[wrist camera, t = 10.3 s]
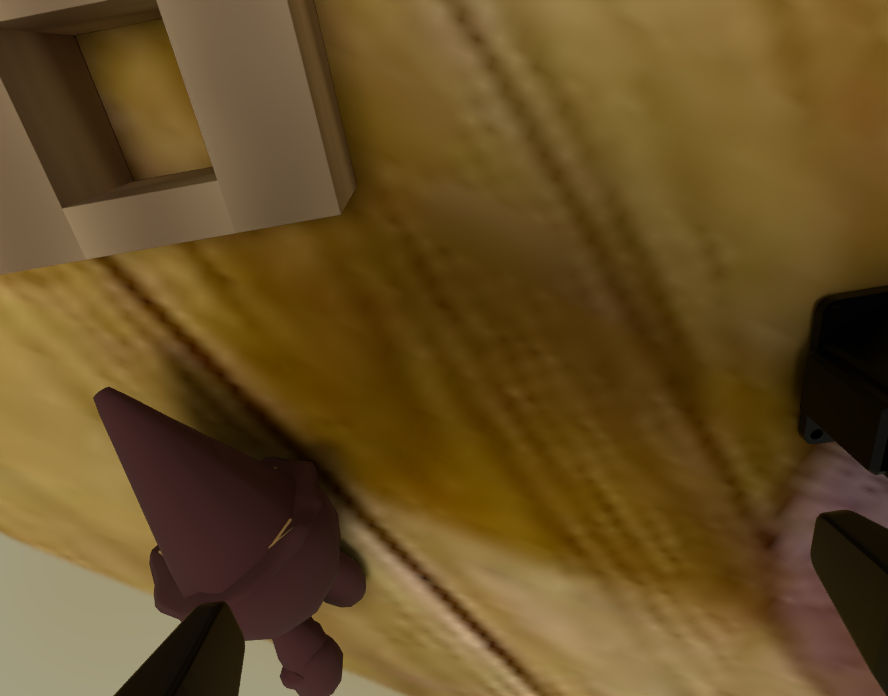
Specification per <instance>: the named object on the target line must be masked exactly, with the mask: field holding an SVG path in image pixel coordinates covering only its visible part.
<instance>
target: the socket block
mask: <svg viewBox="0 0 888 696" xmlns="http://www.w3.org/2000/svg"><path fill="white" fill-rule="evenodd" d="M156 19H163V22H164V25H165V28H166V31H167V33H168V36H169V39H170V42H171V45H172V48H173V51H174V54H175V57H176V60H177V63H178V66H179V69H180V72H181V75H182V78H183V81H184V83H185V86H186V89H187V92H188V95H189V98H190V101H191V104H192V107H193V110H194V113H195V116H196V119H197V122H198V125H199V128H200V131H201V133H202V136H203V139H204V142H205V145H206V148H207V151H208V154H209V157H210V160H211V163H212V166H213V167H209V168H203V169H198V170H192V171H187V172H181V173H176V174H170V175H165V176H159V177H154V178H148V179H143V180H137V181H133V179H132V177H131V174H130V172H129V169H128V167H127V164H126V162H125V159H124V157H123V155H122V152H121V150H120V147H119V145H118V142H117V140H116V137H115V135H114V132H113V130H112V127H111V125H110V123H109V120H108V118H107V115H106V113H105V110H104V108H103V105H102V103H101V100H100V98H99V95H98V93H97V91H96V88H95V86H94V83H93V81H92V78H91V76H90V73H89V71H88V68H87V66H86V63H85V61H84V59H83V56H82V54H81V51H80V49H79V46H78V44H77V41H76V39H75V35H80V34H85V33H90V32H95V31H100V30H105V29H110V28H116V27H121V26H126V25H131V24H136V23H141V22H146V21H151V20H156ZM356 187H357V185H356V181H355V176H354V172H353V168H352V163H351V159H350V155H349V150H348V146H347V142H346V138H345V133H344V129H343V125H342V120H341V116H340V112H339V107H338V103H337V99H336V94H335V90H334V86H333V81H332V77H331V73H330V69H329V64H328V60H327V56H326V51H325V47H324V43H323V38H322V34H321V30H320V25H319V21H318V17H317V12H316V8H315V4H314V0H0V275H1V274H7V273H13V272H18V271H24V270H30V269H35V268H41V267H47V266H52V265H58V264H64V263H69V262H75V261H81V260H86V259H92V258H98V257H103V256H109V255H115V254H120V253H126V252H132V251H137V250H143V249H149V248H155V247H160V246H166V245H172V244H177V243H183V242H189V241H194V240H200V239H206V238H211V237H217V236H223V235H228V234H234V233H240V232H245V231H251V230H257V229H262V228H268V227H274V226H279V225H285V224H291V223H296V222H302V221H308V220H314V219H319V218H325V217H331V216H336V215H341V213H342V212H343V210H344V208H345V206H346V205H347V203H348V201H349V199H350V198H351V196H352V194H353V192H354V191H355V189H356Z"/></svg>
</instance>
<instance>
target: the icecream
mask: <svg viewBox="0 0 888 696" xmlns="http://www.w3.org/2000/svg"><path fill="white" fill-rule="evenodd" d="M93 399H94V401H95V404H96V407H97V409H98V412H99V415H100V417H101V419H102V421H103V424H104V426H105V428H106V430H107V433H108V435H109V437H110V439H111V441H112V444H113V446H114V448H115V450H116V453H117V455H118V457H119V459H120V462H121V464H122V466H123V468H124V470H125V473H126V475H127V477H128V479H129V482H130V484H131V486H132V488H133V491H134V493H135V495H136V497H137V500H138V502H139V504H140V506H141V508H142V511H143V513H144V515H145V517H146V520H147V522H148V524H149V526H150V529H151V531H152V533H153V535H154V538H155V540H156V542H157V544H158V545H157V546H156V547H155V548H154V549H153V550H152V551H151V554H150V562H149V565H150V568H151V572H152V576H153V580H154V584H155V587H154V600H155V606H156V608H157V609H158V610H159V611H160V612H162V613H164V614H166V615H169V616H172V617H174V618H177V619H179V620H180V621H181V622H182V621H183V620H184V619H185V618H186V617H187V616H188V615H189V614H190V612H191V611H192V610H193V609H194V608H195V607H197V606H198V605H200V604H204V603H210V602H217V601H224V602H226V603H227V604H228V605H229V606H230V608H231V610H232V612H233V614H234V616H235V618H236V620H237V622H238V624H239V626H240V628H241V630H242V632H243V635H244V639H245V641H249V640H263V639H272V640H273V643H274V646H275V649H276V653H277V656H278V659H279V661H280V662H281V664H282V665H283V668H282V671H281V674H280V678H281V680H282V683H283V685H284V686H285V687H286V688H290V689H294V690H296V692H297V693H298V694H299V696H330V695H331V694H333V693H334V691H335V689H336V688H337V686H338V685H339V683H340V682H341V678H342V668H343V653H342V651H341V649H340V647H339V646H338V644H337V643H336V642H335V641H334V640H333V638H331V637H330V636H328V635H327V634H325V632H324V631H323V629H322V627H321V625H320V624H319V623H318V622H316V621H314V620H313V618H312V617H311V616H312V615H313V614H315V613H316V612H317V611H318V609H319V607H320V606H321V604H322V602H323V601H324V602H325V603H329V604H332V605H335V606H338V607H352V606H353V605H354V604H356V603H357V602H358V601H360V600H361V599H362V597H363V595H364V593H365V590H366V580H365V575H364V573H363V572H362V570H361V568H360V567H359V565H358V564H357V562H356V561H354V560H353V559H352V558H351V557H350V556H348V555H346V554H345V553H343V552H341V551H340V528H339V520H338V513H337V512H336V510H335V508H334V507H333V505H332V503H331V502H330V500H329V498H328V496H327V495H326V493H325V492H324V491H323V489H322V488H321V487H320V486H319V480H318V474H317V469H316V467H315V465H314V464H313V462H308V461H295V460H287V459H282V458H277V457H268V458H265V459H264V460H262V461H261V462H260V461H258V460H256V459H254V458H252V457H250V456H248V455H246V454H244V453H242V452H240V451H238V450H236V449H234V448H232V447H230V446H227V445H225V444H223V443H221V442H219V441H217V440H215V439H213V438H211V437H209V436H207V435H205V434H203V433H201V432H199V431H197V430H195V429H193V428H191V427H189V426H187V425H185V424H182V423H180V422H178V421H176V420H174V419H172V418H170V417H168V416H166V415H164V414H162V413H161V412H159V411H157V410H155V409H153V408H151V407H149V406H147V405H145V404H143V403H141V402H139V401H137V400H135V399H134V398H132V397H130V396H128V395H126V394H123V393H121V392H119V391H117V390H115V389H113V388H110V387H106V388H104V389H102V390H101V391H99V392H98V393H97V394H96V395H95V396H94V397H93Z"/></svg>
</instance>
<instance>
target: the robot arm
mask: <svg viewBox="0 0 888 696" xmlns="http://www.w3.org/2000/svg"><path fill="white" fill-rule="evenodd" d="M835 306H837V307H836V309H835V311H834V312H833V313H831V314H829V313H830V311H831V309H832V308H833V307H835ZM800 409H801V417H800V424H799V435H800V436H801V437H802V438H803V439H804V440H805V441H806V442H807V443H809V444H819V443H826V442H833V441H836V442H837V443H838V444H839V445H840V446H841V447H842V448H844V449H845V450H846V451H847V452H848V453H849V454H850V455H851V456H852V457H853V458H855V459H856V460H857V461H858V462H859V463H860V464H861V465H862V466H863V467H864V468H866V469H867V470H868V471H869V472H871V473H872V474H874V475H879V474H884V475H885V476H886V477H887V478H888V286H887V287H881V288H875V289H869V290H863V291H856V292H850V293H844V294H838V295H832V296H829V297H826V298H824V299H823V300H822V301H821V302H820V303H819V304H818V305H817V308H816V312H815V319H814V326H813V333H812V340H811V347H810V354H809V356H808V358H807V364H806V371H805V378H804V385H803V392H802V399H801V406H800ZM814 430H816V431H814ZM813 431H814V432H813ZM812 432H813V433H812ZM810 555H811V561H812V564H813V567H814V569H815V571H816V573H817V575H818V577H819V579H820V580H821V582H822V584H823V586H824V588H825V590H826V591H827V593H828V595H829V597H830V599H831V601H832V602H833V604H834V606H835V608H836V610H837V612H838V613H839V615H840V617H841V619H842V621H843V622H844V624H845V626H846V628H847V630H848V632H849V633H850V635H851V637H852V639H853V641H854V643H855V644H856V646H857V648H858V650H859V652H860V654H861V655H862V657H863V659H864V661H865V662H866V664H867V666H868V667H869V669H870V671H871V673H872V674H873V676H874V677H875V679H876V680H877V682H878V683H879V685H880V687H881V688H882V690H883V691H884V693H885V694H886V696H888V529H887V528H885V527H883V526H881V525H879V524H877V523H875V522H873V521H871V520H869V519H867V518H865V517H863V516H862V515H860V514H858V513H855V512H853V511H850V510H839V511H832V512H825V513H821V514H820V515H819V516H818V517H817V519H816V523H815V528H814V534H813V540H812V545H811V553H810ZM244 652H245V639H244V635H243V632H242V630H241V628H240V626H239V624H238V622H237V620H236V618H235V616H234V614H233V612H232V610H231V608H230V606H229V605H228V604H227V603H226V602H224V601H217V602H210V603H204V604H200V605H198V606H197V607H195V608H194V609H193V610H192V611H191V612H190V614H189V615H188V616H187V617H186V618H185V619H184V620H183V621H182V622H181V623H180V624H179V625H178V626H177V628H176V629H175V630H174V631H173V632H172V633H171V634H170V635H169V636H168V637H167V639H166V640H165V641H164V642H163V643H162V644H161V645H160V646H159V647H158V648H157V649H156V650H155V651H154V653H153V654H152V655H151V656H150V657H149V658H148V659H147V660H146V661H145V662H144V663H143V664H142V665H141V667H140V668H139V669H138V670H137V671H136V672H135V673H134V674H133V675H132V676H131V677H130V679H128V681H127V682H126V683H125V684H124V685H123V686H122V687H121V688H120V689H119V690H118V691H117V692H116V694H115V695H114V696H238V693H239V686H240V679H241V672H242V665H243V658H244Z"/></svg>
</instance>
